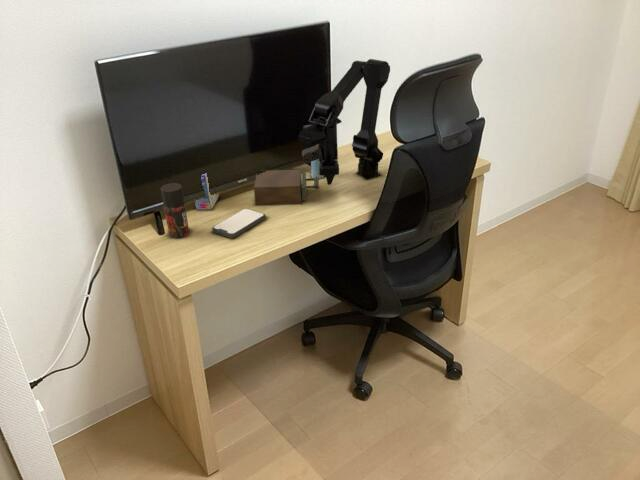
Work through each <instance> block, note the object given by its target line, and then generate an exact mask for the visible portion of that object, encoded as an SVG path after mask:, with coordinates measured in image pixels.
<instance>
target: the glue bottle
mask: <svg viewBox="0 0 640 480" xmlns="http://www.w3.org/2000/svg"><path fill="white" fill-rule="evenodd" d="M319 165H320V161H319V158H318V159H317V160H314V161H312V162H310V172H311V178H315V177H318V178H319V180H320V179H323V178H325V175H319Z"/></svg>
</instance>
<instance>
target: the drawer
mask: <svg viewBox="0 0 640 480" xmlns="http://www.w3.org/2000/svg"><path fill="white" fill-rule="evenodd" d="M301 178H302V198H301V201H307V189H314V190H319V189H320V179H319V178H318V177H315V178H312V177H311V178H307V171H304V172H303V171H301ZM309 181H310V182H311V181H313V185H307V182H309Z"/></svg>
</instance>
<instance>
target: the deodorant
mask: <svg viewBox="0 0 640 480" xmlns="http://www.w3.org/2000/svg"><path fill="white" fill-rule="evenodd" d="M160 195H161V198H162V204H163V210H164V214H165V219H166V225H167V231H168V236H169V237H170V238H172V239H183V238H185V237H187V236H188V235H189V234H190V228H189V222H188V215H187V209H186V203H185V197H184V190H183V186H182V184H181V183H178V182H171V183H166V184H163V185H162V186H161V187H160Z"/></svg>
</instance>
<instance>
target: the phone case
mask: <svg viewBox="0 0 640 480" xmlns="http://www.w3.org/2000/svg"><path fill="white" fill-rule="evenodd" d="M265 219H266V213H263V212H260V211H257V210H254V209H250V208H242V209H241V210H239V211H238V212H236V213H234V214H232V215H230V216H229V217H227V218H225V219H223V220H222V221H220V222H219V223H216V224H215V225H213V226H212V230H211V231H212V232H213V233H215V234H217V235H221V236H224V237H227V238H230V239H234V238H237V237H238V236H240V235H241V234H243V233H245V232H246V231H248V230H249V229H251V228H253V227H254V226H256V225H257V224H259V223H261V222H263V221H264V220H265Z"/></svg>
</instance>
